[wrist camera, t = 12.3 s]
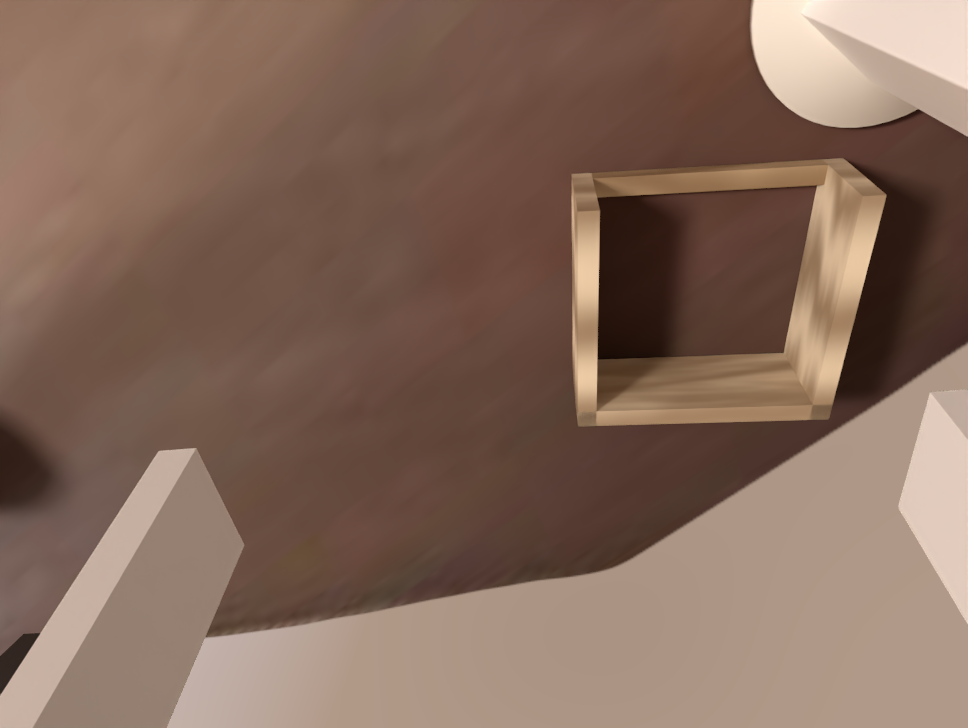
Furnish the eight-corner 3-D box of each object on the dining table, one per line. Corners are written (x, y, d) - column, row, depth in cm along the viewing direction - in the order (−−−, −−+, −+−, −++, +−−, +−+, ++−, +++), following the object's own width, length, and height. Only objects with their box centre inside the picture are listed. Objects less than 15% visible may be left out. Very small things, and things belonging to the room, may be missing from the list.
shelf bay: (571, 174, 42) (577, 211, 37) (843, 158, 41) (886, 195, 36) (572, 374, 51) (577, 426, 46) (798, 366, 49) (828, 419, 44)
